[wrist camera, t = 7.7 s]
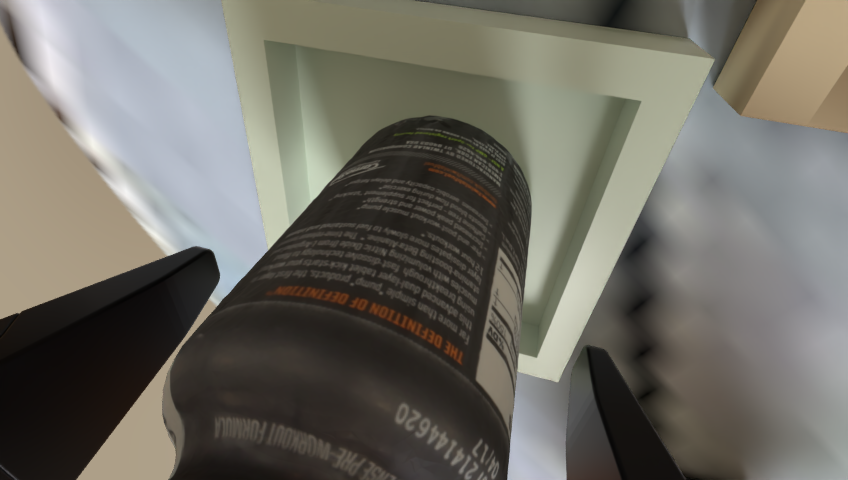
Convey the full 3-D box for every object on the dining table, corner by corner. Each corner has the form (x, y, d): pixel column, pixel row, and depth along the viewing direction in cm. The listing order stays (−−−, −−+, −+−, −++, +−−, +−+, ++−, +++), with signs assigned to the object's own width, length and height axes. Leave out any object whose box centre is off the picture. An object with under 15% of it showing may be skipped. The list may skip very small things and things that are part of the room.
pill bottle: (324, 198, 15) (-33, 596, 6) (424, 65, 11) (-94, 563, 2) (450, 297, 16) (314, 749, 7) (576, 205, 12) (620, 883, 4)
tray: (558, 338, 16) (558, 382, 15) (304, 273, 18) (279, 307, 17) (688, 38, 10) (715, 59, 8) (267, -20, 11) (219, -13, 10)
